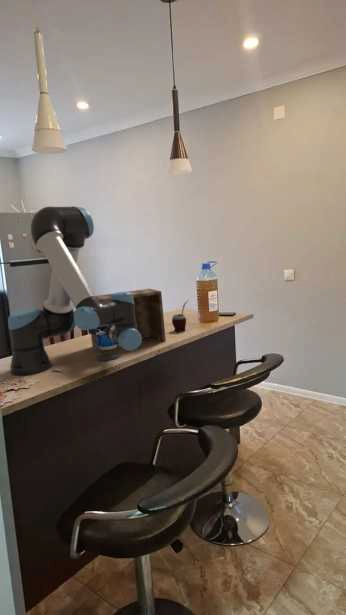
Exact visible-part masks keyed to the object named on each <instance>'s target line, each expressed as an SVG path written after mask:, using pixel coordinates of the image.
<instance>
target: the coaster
mask: <svg viewBox="0 0 346 615" xmlns="http://www.w3.org/2000/svg"><path fill="white" fill-rule="evenodd" d="M121 355H122V354H121V353H119V352H106V353H102V354H101V353H100V354H99V355H97V356H96V357H95V358H96V360H97V361H99V362H109V361H108V360H110V361H114V359H115V360H117V358H118V359H119V357H120V358H121Z"/></svg>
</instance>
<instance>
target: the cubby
mask: <svg viewBox="0 0 346 615" xmlns="http://www.w3.org/2000/svg"><path fill="white" fill-rule="evenodd" d="M127 292H130V293H132V295H133V299H134V304H135V305H134V308H135V318H136V325H137V330H138V331H139V333H140V334H141V338H142V339H145V338H151V337H152V338H155V339H157V340H159V341H161V342H163V343H165V342H166V340H167V338H166V330H165V319H164V308H163V306H164V305H163V298H162V297H163V296H162V290H157V289H152V288H144V289H136V290H130V291H127ZM114 293H115V292H114ZM114 293H107V294H100V295H96V297H97V299H98V300H99V302H100V303H102V302H107V301H111V295H112V294H114ZM90 338H91V344H92V346H91V347H92V348H93V347H94V348H93V349H94V350H96V351H97V352H98V353H99V354H100V355H101V354H105V353H104V350H101V349H100V348H99V347H98V345H97V337H96V336H95V335H92V334H90Z"/></svg>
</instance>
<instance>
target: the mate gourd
mask: <svg viewBox="0 0 346 615" xmlns="http://www.w3.org/2000/svg"><path fill="white" fill-rule="evenodd" d="M188 302H189V299H187V301H186V302H184V303H183V305H182V311H181V313H180V314H174V315H173V316H172V318H171V323H172V326H173V327H174V330H173V331H176V333H180V332H186V324H187V318H186V316H185V315H184V314H183V313H184V310H185V307H186V304H187V303H188Z"/></svg>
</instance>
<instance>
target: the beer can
mask: <svg viewBox="0 0 346 615" xmlns="http://www.w3.org/2000/svg"><path fill="white" fill-rule="evenodd" d="M109 325H110V324H109ZM109 325H104V326H109ZM101 327H103V326H101ZM96 337H97V336H96ZM97 345H98V347H99V348H100V349H101V350H103V351H104V350H105V351H106V350H107V351H108V350H112V349H116V348H118V346H119V345H118V344H116V343H114V342H113V341H111V340H110V339H109V338H108V337H107V335H104V334H101V336H99V337H97Z"/></svg>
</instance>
